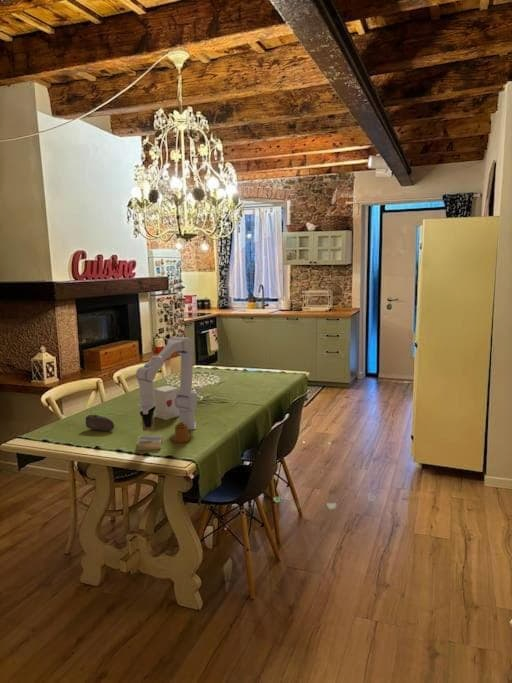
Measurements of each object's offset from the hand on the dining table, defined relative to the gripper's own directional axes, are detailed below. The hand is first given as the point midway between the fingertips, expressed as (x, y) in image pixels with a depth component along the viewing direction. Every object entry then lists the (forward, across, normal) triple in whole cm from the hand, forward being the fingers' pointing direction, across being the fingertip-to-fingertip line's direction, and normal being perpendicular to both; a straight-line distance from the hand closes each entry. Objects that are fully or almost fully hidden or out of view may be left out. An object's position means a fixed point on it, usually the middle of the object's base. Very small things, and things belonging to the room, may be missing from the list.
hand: (148, 425), depth 210 cm
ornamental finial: (+10, -4, +14) cm, 17 cm away
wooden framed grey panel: (+9, 0, 0) cm, 9 cm away
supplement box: (+9, -38, +4) cm, 40 cm away
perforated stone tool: (+10, -23, -26) cm, 36 cm away
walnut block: (+2, 0, 0) cm, 2 cm away
